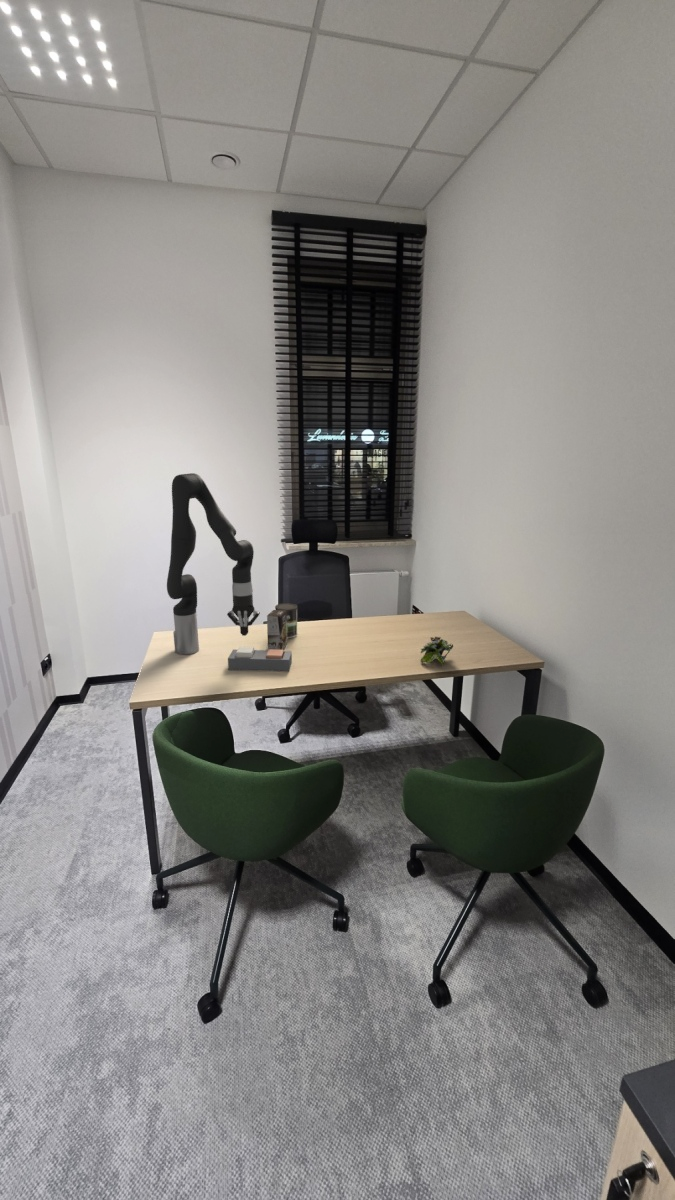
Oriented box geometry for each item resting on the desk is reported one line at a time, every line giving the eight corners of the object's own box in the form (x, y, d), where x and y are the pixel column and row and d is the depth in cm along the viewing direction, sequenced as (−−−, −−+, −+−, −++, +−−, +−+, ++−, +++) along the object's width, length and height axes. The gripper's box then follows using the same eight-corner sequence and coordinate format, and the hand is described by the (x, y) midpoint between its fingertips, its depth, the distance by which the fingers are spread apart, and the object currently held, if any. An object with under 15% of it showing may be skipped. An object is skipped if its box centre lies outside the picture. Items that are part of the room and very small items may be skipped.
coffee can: (292, 639, 222) (292, 610, 218) (272, 637, 225) (271, 608, 221) (300, 632, 232) (300, 604, 228) (281, 629, 234) (280, 602, 230)
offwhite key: (236, 659, 190) (236, 652, 189) (239, 653, 196) (239, 646, 195) (251, 659, 190) (251, 652, 189) (254, 653, 196) (254, 646, 195)
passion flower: (432, 671, 206) (447, 643, 207) (448, 678, 195) (464, 649, 196) (410, 657, 202) (426, 629, 203) (425, 663, 191) (441, 634, 192)
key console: (228, 670, 190) (227, 658, 188) (233, 660, 198) (233, 649, 197) (289, 671, 189) (289, 659, 188) (291, 662, 198) (291, 650, 197)
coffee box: (281, 652, 208) (280, 616, 203) (267, 650, 209) (266, 615, 205) (287, 644, 217) (287, 610, 212) (274, 643, 218) (273, 609, 213)
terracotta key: (266, 662, 190) (266, 655, 189) (269, 656, 196) (269, 649, 195) (281, 662, 190) (281, 655, 189) (283, 656, 196) (283, 649, 195)
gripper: (222, 595, 182) (225, 638, 187) (257, 595, 181) (259, 638, 186) (227, 589, 189) (230, 631, 194) (261, 590, 189) (263, 632, 194)
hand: (244, 634), depth 190 cm, fingers closed
